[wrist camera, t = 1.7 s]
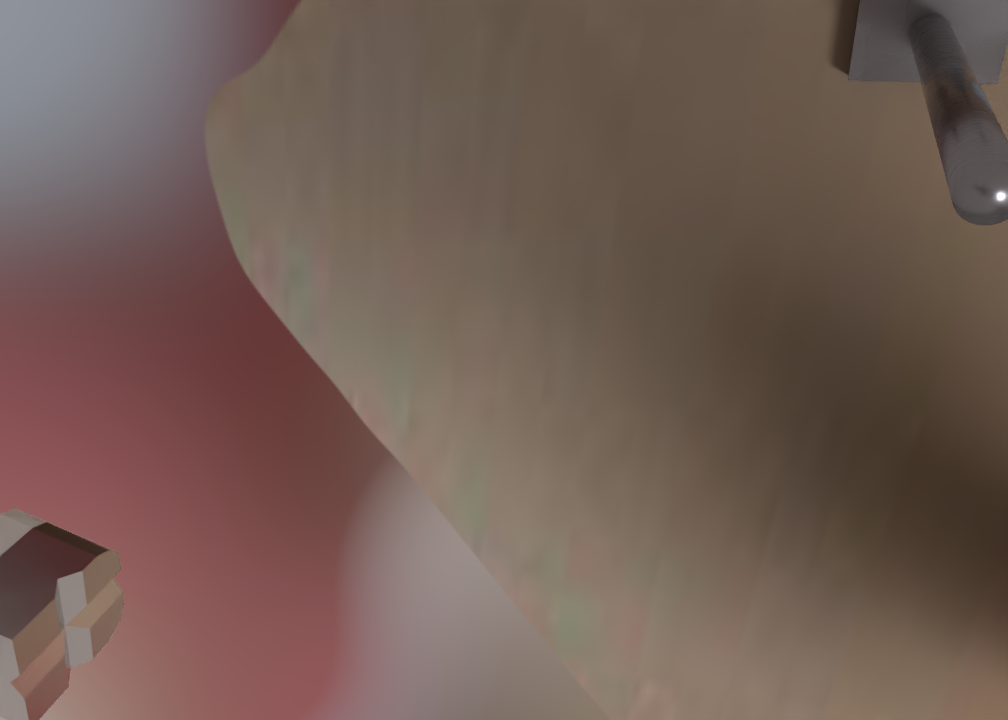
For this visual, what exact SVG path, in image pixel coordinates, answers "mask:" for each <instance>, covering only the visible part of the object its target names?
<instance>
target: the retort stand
mask: <svg viewBox="0 0 1008 720" xmlns="http://www.w3.org/2000/svg"><path fill="white" fill-rule="evenodd" d="M1007 41H1008V0H860V2H859V8H858V15H857V21H856V28H855V35H854V41H853V48H852V55H851V61H850V68H849V75H848V80H859V81H899V82H921V85H922V89H923V92H924V96H925V100H926V104H927V108H928V111H929V115H930V119H931V123H932V127H933V130H934V134H935V138H936V142H937V145H938V149H939V153H940V157H941V161H942V164H943V168H944V172H945V176H946V180H947V183H948V187H949V191H950V195H951V198H952V202H953V206H954V208H955V210H956V212H957V213H958V214H959V215H960V216H961V217H962V218H963V219H964V220H966V221H968V222H970V223H973V224H977V225H993V224H997V223H1000V222H1003V221H1005V220H1007V219H1008V141H1007V139H1006V137H1005V135H1004V133H1003V131H1002V129H1001V127H1000V125H999V123H998V121H997V119H996V117H995V115H994V113H993V111H992V109H991V107H990V105H989V103H988V100H987V98H986V96H985V94H984V92H983V90H982V88H981V86H980V84H997V83H998V79H999V75H1000V71H1001V66H1002V62H1003V58H1004V54H1005V50H1006V45H1007Z"/></svg>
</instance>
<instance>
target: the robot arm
mask: <svg viewBox="0 0 1008 720" xmlns="http://www.w3.org/2000/svg"><path fill="white" fill-rule="evenodd" d="M120 570H121V566H120V559H119V553H118V552H116V551H114V550H112V549H109V548H107V547H105V546H102V545H100V544H97V543H95V542H93V541H90V540H88V539H86V538H83V537H81V536H78V535H76V534H74V533H71V532H69V531H67V530H64V529H62V528H59V527H57V526H55V525H53V524H51V523H49V522H47V521H44V520H42V519H40V518H37V517H35V516H32V515H30V514H27V513H25V512H22V511H20V510H17V509H12V510H10V511H7V512H5V513H2V514H0V717H2V718H5V719H7V720H39V719H40V718H41V717H42V716H43V715H44V714H45V713H46V712H47V711H48V709H49V708H50V707H51V706H52V705H53V704H54V703H55V702H56V700H57V699H58V698H59V697H60V696H61V695H62V694H63V693H64V692H65V690H66V689H67V688H68V687H69V680H70V671H71V668H73V667H75V666H78V665H80V664H83V663H85V662H87V661H90V660H92V659H94V658H95V657H96V655H97V654H98V653H99V652H100V651H101V650H102V648H103V647H104V646H105V645H106V644H107V643H108V641H109V640H110V638H111V636H112V634H113V632H114V630H115V628H116V627H117V625H118V623H119V621H120V619H121V615H122V610H123V606H124V599H123V591H122V590H121V588H120V587H119V586H118V584H117V583H116V581H115V580H114V576H115V575H116V574H117V573H118V572H119V571H120Z"/></svg>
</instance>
